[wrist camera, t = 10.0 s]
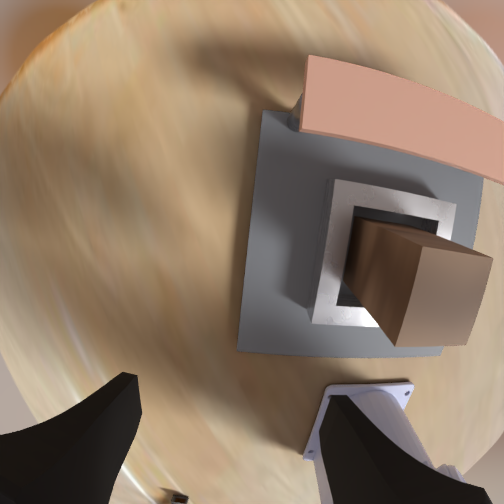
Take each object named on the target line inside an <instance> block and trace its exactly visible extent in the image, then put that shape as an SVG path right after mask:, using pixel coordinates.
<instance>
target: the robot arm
mask: <svg viewBox="0 0 504 504" xmlns="http://www.w3.org/2000/svg"><path fill="white" fill-rule="evenodd" d="M413 389H414V384H413V383H412V382H401V383H384V384H352V385H330V386H328V387H327V388H326V389H325V393H324V396H323V399H322V402H321V405H320V408H319V411H318V414H317V417H316V420H315V423H314V426H313V429H312V432H311V434H310V437H309V440H308V443H307V446H306V448H305V451H304V454H303V459H304V460H306V461H311V460H313V461H314V466H315V471H316V477H317V482H318V488H319V494H320V499H321V504H492V502H491V500H490V498H489V496H488V495H487V493H486V491H485V490H484V488H481V487H477V486H474V485H471V484H467V483H466V481H465V480H464V478H463V477H462V475H461V474H460V472H459V471H458V469H457V468H456V467H455V466H452V465H448V466H447V465H446V464H443V465H441V466H440V467H438V468H437V469H436V468H435V467H434V466H433V464H432V462H431V460H430V458H429V457H428V455H427V453H426V451H425V449H424V447H423V445H422V443H421V442H420V440H419V438H418V436H417V434H416V432H415V431H414V429H413V427H412V425H411V423H410V422H409V420H408V418H407V416H406V414H405V413H404V411H403V410H404V408H405V406H406V404H407V402H408V400H409V398H410V396H411V394H412V391H413ZM407 391H408V392H407ZM329 395H331V396H329ZM141 415H142V408H141V401H140V394H139V386H138V377H137V375H134V374H130V373H125V372H122V373H120V374H119V375H117V376H116V377H115V378H113V379H112V380H111V381H109V382H108V383H107V384H105V385H104V386H103V387H101V388H100V389H99V390H97V391H96V392H94V393H93V394H91V395H90V396H89V397H87V398H86V399H84V400H83V401H81V402H80V403H78V404H76V405H75V406H73V407H72V408H70V409H68V410H67V411H65V412H63V413H61V414H59V415H57V416H55V417H53V418H51V419H49V420H47V421H45V422H42V423H40V424H37V425H34V426H32V427H29V428H26V429H23V430H20V431H16V432H12V433H8V434H3V435H0V504H109V500H110V496H111V493H112V489H113V486H114V483H115V480H116V478H117V475H118V473H119V471H120V469H121V466H122V464H123V462H124V460H125V457H126V455H127V453H128V451H129V449H130V446H131V444H132V442H133V440H134V437H135V435H136V432H137V429H138V426H139V422H140V419H141Z"/></svg>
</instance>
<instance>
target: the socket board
mask: <svg viewBox="0 0 504 504" xmlns="http://www.w3.org/2000/svg"><path fill="white" fill-rule="evenodd" d="M484 178H486V179H489V180H491V181H494V182H497V183H499V184H502V185H504V122H503V121H501V120H500V119H498V118H496V117H494V116H492V115H490V114H488V113H486V112H484V111H482V110H480V109H478V108H476V107H474V106H472V105H470V104H468V103H465V102H463V101H461V100H459V99H456V98H454V97H452V96H449V95H447V94H445V93H442V92H440V91H437V90H435V89H432V88H430V87H427V86H424V85H421V84H419V83H416V82H413V81H410V80H407V79H404V78H401V77H398V76H395V75H392V74H388V73H385V72H382V71H378V70H375V69H371V68H367V67H364V66H360V65H356V64H352V63H347V62H343V61H339V60H334V59H329V58H324V57H319V56H314V55H308V57H307V59H306V62H305V72H304V83H303V93H302V94H301V96H300V98H299V99H298V101H297V103H296V105H295V106H294V108H293V110H292V111H291V113H287V112H280V111H272V110H263V113H262V122H261V131H260V140H259V149H258V158H257V167H256V176H255V185H254V194H253V203H252V212H251V221H250V230H249V239H248V249H247V258H246V267H245V276H244V286H243V295H242V304H241V314H240V323H239V333H238V342H237V351H241V352H251V353H263V354H275V355H290V356H308V357H334V358H400V357H425V356H440V355H441V352H442V350H443V347H444V346H433V347H394V345H393V344H392V343H391V341H390V340H389V339H388V337H387V336H386V335H385V333H384V332H383V331H382V330H381V328H380V327H379V326H378V324H377V323H376V322H375V320H374V319H373V318H372V317H371V315H370V314H369V313H368V312H367V310H366V309H365V308H364V306H363V305H362V304H361V303H360V301H359V300H358V299H357V298H356V296H355V295H354V294H353V293H352V291H351V290H350V289H349V288H348V286H347V285H346V284H345V283H344V282H343V276H344V271H345V266H346V261H347V256H348V251H349V245H350V240H351V234H352V228H353V222H354V216H358V217H364V218H370V219H376V220H382V221H388V222H393V223H399V224H405V225H410V226H413V227H416V228H419V229H421V230H424V231H427V232H429V233H432V234H435V235H437V236H440V237H442V238H445V239H448V240H450V241H453V242H455V243H458V244H460V245H463V246H465V247H467V248H470V249H472V250H473V245H474V240H475V235H476V230H477V224H478V218H479V211H480V204H481V197H482V188H483V179H484Z"/></svg>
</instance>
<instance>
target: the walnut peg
mask: <svg viewBox="0 0 504 504" xmlns="http://www.w3.org/2000/svg"><path fill="white" fill-rule="evenodd" d="M492 262H493V258H491V257H489V256H486V255H484V254H482V253H479V252H477V251H475V250H472V249H470V248H467V247H465V246H463V245H460V244H458V243H455V242H453V241H450V240H448V239H445V238H442V237H440V236H437V235H435V234H432V233H429V232H427V231H424V230H421V229H419V228H416V227H413V226H410V225H405V224H399V223H393V222H388V221H382V220H376V219H370V218H364V217H358V216H354V222H353V228H352V234H351V240H350V245H349V251H348V256H347V261H346V266H345V271H344V276H343V282H344V283H345V284H346V285H347V286H348V288H349V289H350V290H351V291H352V293H353V294H354V295H355V296H356V298H357V299H358V300H359V301H360V303H361V304H362V305H363V306H364V308H365V309H366V310H367V312H368V313H369V314H370V315H371V317H372V318H373V319H374V320H375V322H376V323H377V324H378V326H379V327H380V328H381V330H382V331H383V332H384V333H385V335H386V336H387V337H388V339H389V340H390V341H391V343H392V344H393V345H394V347H433V346H457V345H466V344H467V341H468V338H469V336H470V333H471V331H472V328H473V325H474V322H475V319H476V317H477V314H478V311H479V308H480V305H481V301H482V298H483V295H484V292H485V288H486V285H487V281H488V277H489V274H490V270H491V266H492Z"/></svg>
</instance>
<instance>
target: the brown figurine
mask: <svg viewBox="0 0 504 504" xmlns="http://www.w3.org/2000/svg"><path fill="white" fill-rule="evenodd" d="M188 499H189V498H188V497H182V496H175V495H173V497H172V500H171V504H187V502H188Z"/></svg>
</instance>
